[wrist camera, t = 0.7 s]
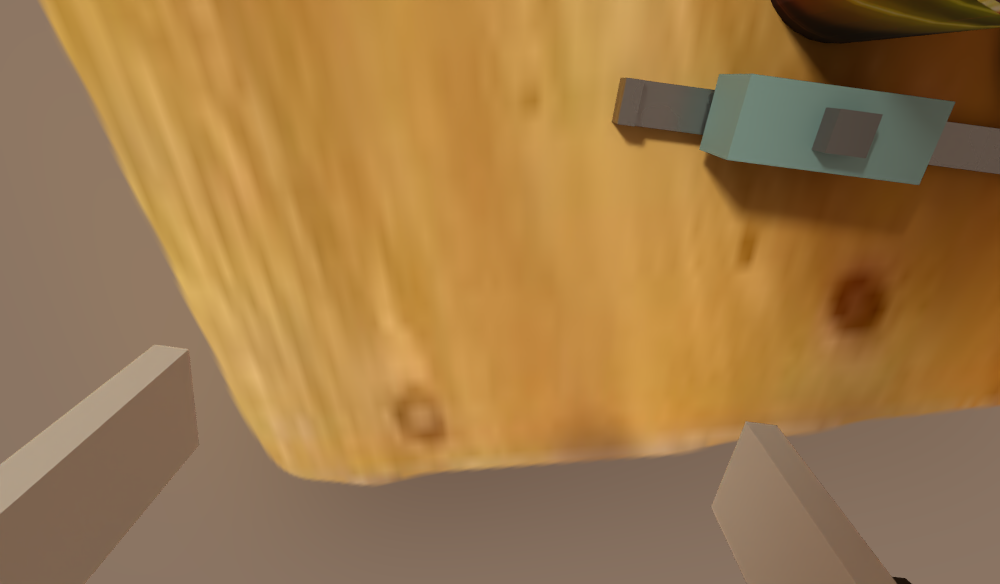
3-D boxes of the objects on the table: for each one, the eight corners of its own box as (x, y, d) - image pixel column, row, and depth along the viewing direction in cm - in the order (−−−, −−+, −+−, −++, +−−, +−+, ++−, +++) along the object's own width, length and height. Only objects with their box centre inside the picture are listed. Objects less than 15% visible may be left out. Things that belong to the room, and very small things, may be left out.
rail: (620, 77, 29) (626, 77, 28) (1056, 137, 30) (1085, 140, 29) (612, 121, 30) (617, 124, 29) (1035, 177, 31) (1061, 182, 30)
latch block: (719, 74, 28) (763, 73, 23) (897, 98, 28) (976, 102, 24) (699, 149, 29) (736, 163, 25) (868, 171, 30) (937, 189, 25)
